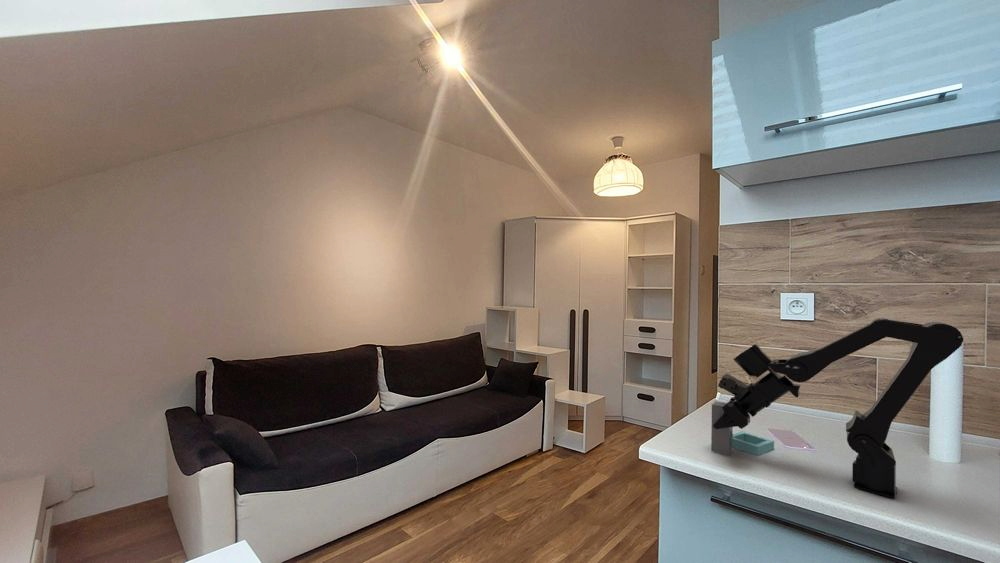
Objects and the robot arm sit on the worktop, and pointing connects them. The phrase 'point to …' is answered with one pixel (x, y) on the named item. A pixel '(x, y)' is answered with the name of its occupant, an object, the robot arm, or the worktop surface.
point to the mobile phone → (790, 439)
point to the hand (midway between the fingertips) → (716, 425)
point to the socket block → (752, 443)
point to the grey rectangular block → (720, 432)
